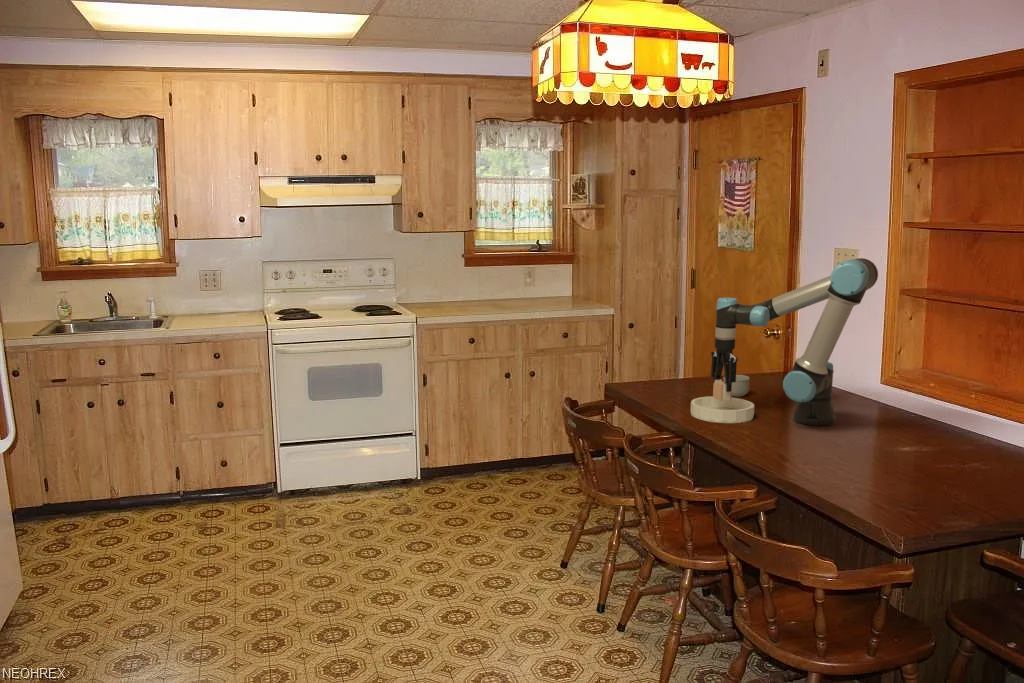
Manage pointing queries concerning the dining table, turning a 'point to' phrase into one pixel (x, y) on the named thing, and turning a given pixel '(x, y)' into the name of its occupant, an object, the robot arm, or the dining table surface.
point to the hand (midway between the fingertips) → (722, 397)
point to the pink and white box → (719, 391)
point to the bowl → (722, 410)
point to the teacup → (740, 385)
